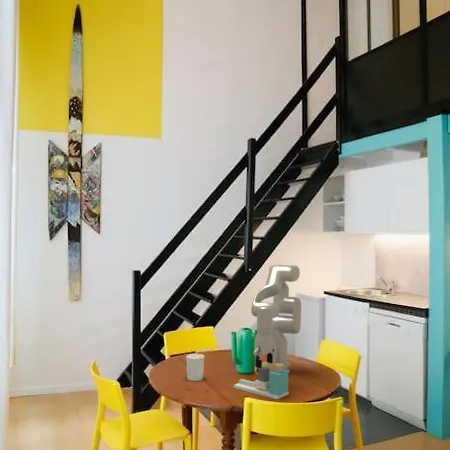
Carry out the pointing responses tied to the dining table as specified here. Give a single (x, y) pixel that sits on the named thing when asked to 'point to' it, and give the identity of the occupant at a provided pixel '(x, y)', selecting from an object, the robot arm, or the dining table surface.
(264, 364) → the toy pig
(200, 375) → the candle holder
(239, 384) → the rail board
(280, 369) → the gauge plunger
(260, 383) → the carriage
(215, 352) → the dining table surface
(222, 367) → the dining table surface
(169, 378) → the dining table surface
